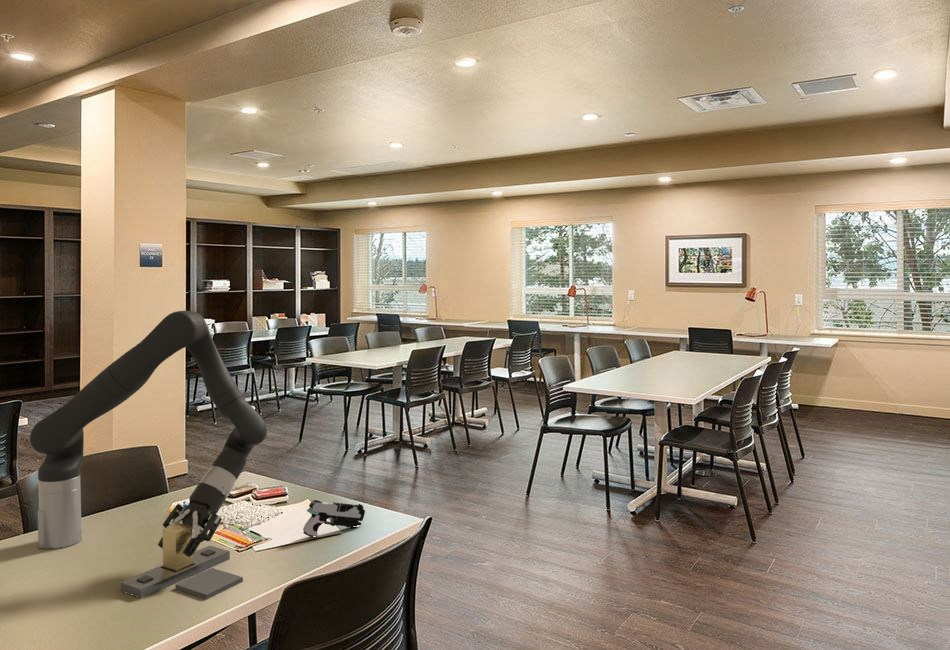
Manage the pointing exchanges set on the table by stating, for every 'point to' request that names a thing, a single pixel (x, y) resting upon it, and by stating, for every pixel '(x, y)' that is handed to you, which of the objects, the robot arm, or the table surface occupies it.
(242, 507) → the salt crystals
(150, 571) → the rail
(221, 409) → the robot arm
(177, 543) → the brass block
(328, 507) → the toy gun
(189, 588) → the mat
